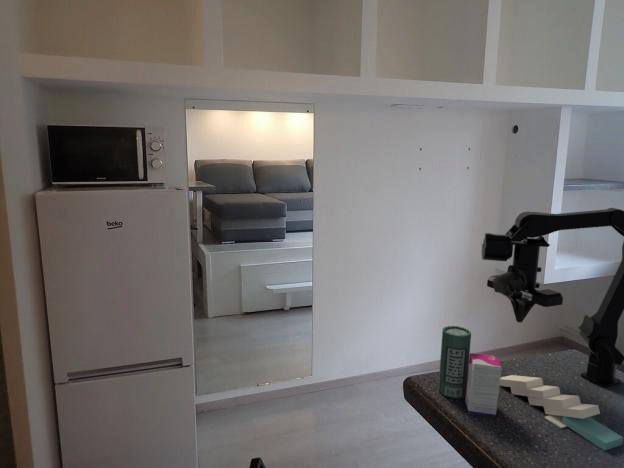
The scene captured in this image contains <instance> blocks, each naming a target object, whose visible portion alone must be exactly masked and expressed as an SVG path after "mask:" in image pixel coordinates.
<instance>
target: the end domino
mask: <svg viewBox="0 0 624 468" xmlns="http://www.w3.org/2000/svg"><path fill="white" fill-rule="evenodd" d="M562 423H563V424H565V425H566V426H568V427H567V428H569V429H571V430H572V431H574V432H575V433H577V434H578V435H580V436H581V437H583V438H584V439H585V440H587V441H589V442H591V443H592V444H593V445H594V446H596V447H598V448H600V449H601V450H603V451H607V450H610V449H614V448H617V447H620V446H622V445H623V441H624V436H622V435H620V434H618V433H616V432H614V431H613V430H612V429H610V428H608V427H607V426H605V425H604V424H602V423H600V422H598V421H597V420H595V419H594V418H592V416H590V417H587V418H583V419H582V418H574V417H566V416H563V421H562Z"/></svg>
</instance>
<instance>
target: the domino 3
mask: <svg viewBox="0 0 624 468" xmlns="http://www.w3.org/2000/svg"><path fill="white" fill-rule="evenodd" d="M527 401H528V404H529V405H530V406H538V407H544V406H546V407H556V408H567V407H571V406H575V405H578V404H582V403H581V399H580V395H573V394H572V395H570V394H561V395H557V396H553V397H549V398H545V399H542V398H535V397H529V396H527Z"/></svg>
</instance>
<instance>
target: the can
mask: <svg viewBox="0 0 624 468" xmlns="http://www.w3.org/2000/svg"><path fill="white" fill-rule="evenodd" d="M471 340H472V332H471V330H469V329H468V328H465V327H462V326H458V325H448V326H444V327H442V332H441V346H440V361H439V362H440V363H439V374H438V375H439V376H438V388H439V389H438V393H440V395H442V396H445V395H446V396H445V397H447V396H448V397H451V398H450V399H456V400H457V399H462V398H465V396H466V387H467V378H468V368H469V359H470V352H471V351H470V350H471Z"/></svg>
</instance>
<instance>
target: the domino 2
mask: <svg viewBox="0 0 624 468" xmlns="http://www.w3.org/2000/svg"><path fill="white" fill-rule="evenodd" d="M510 391H511V395H516V396H523V397H535V398H542V399H545V398H549V397H553V396H557V395H562V394H561V390H560V387H559V386H554V385H544V384H543V385H542V386H538V387H534V388H530V389H522V388H514V387H510Z"/></svg>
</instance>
